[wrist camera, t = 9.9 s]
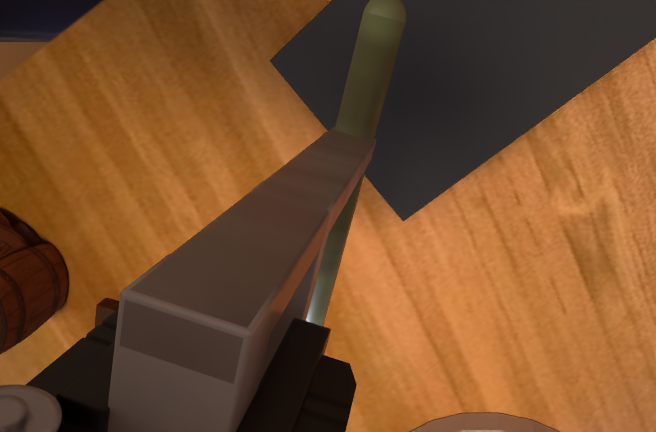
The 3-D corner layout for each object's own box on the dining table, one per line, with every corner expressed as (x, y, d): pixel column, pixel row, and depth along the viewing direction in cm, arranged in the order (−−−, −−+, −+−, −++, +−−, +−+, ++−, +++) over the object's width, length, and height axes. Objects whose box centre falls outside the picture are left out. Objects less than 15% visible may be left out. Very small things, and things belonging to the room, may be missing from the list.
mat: (403, 219, 42) (403, 221, 41) (271, 60, 40) (269, 60, 39) (729, -19, 33) (734, -20, 32) (581, -237, 31) (583, -242, 30)
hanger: (368, -9, 17) (169, -176, 4) (415, 2, 17) (354, -134, 4) (273, 380, 23) (60, 817, 10) (308, 391, 23) (139, 851, 10)
